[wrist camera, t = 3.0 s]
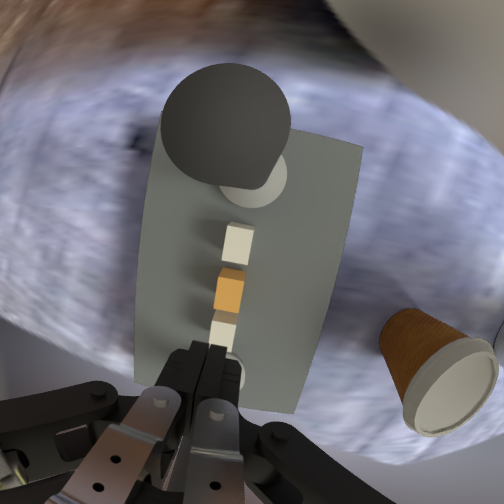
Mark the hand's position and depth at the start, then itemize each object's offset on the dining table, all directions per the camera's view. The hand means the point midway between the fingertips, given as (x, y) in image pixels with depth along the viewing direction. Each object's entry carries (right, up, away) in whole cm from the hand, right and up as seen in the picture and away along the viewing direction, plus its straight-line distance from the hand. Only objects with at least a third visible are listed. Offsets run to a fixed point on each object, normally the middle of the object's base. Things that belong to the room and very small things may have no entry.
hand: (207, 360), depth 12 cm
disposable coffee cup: (+18, -4, +16) cm, 25 cm away
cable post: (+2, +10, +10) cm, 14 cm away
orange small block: (0, +2, +11) cm, 11 cm away
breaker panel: (+1, +3, +15) cm, 16 cm away
